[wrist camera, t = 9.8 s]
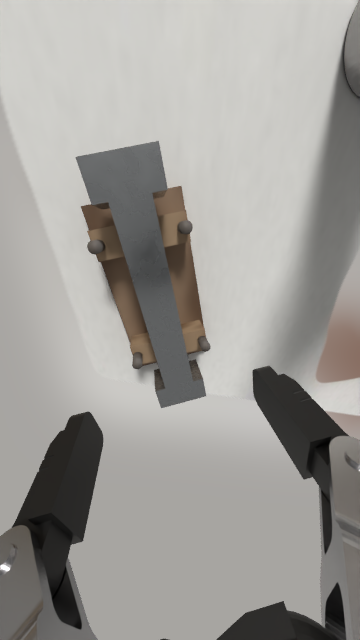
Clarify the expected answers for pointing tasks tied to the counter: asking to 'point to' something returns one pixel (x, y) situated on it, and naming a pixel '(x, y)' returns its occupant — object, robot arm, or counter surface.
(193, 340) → the rack
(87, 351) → the counter surface
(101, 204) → the grey flared end bar
